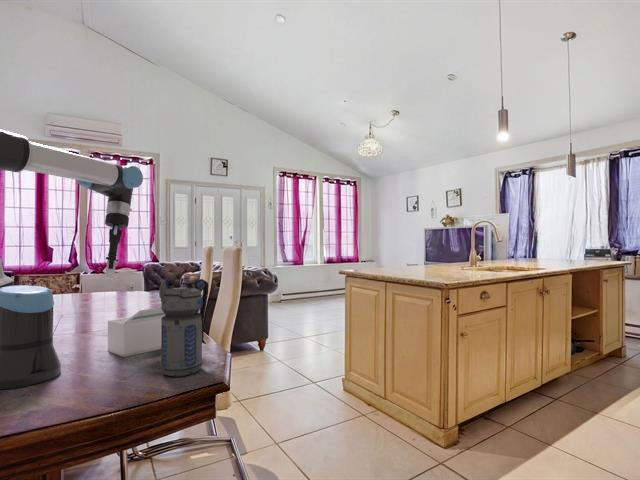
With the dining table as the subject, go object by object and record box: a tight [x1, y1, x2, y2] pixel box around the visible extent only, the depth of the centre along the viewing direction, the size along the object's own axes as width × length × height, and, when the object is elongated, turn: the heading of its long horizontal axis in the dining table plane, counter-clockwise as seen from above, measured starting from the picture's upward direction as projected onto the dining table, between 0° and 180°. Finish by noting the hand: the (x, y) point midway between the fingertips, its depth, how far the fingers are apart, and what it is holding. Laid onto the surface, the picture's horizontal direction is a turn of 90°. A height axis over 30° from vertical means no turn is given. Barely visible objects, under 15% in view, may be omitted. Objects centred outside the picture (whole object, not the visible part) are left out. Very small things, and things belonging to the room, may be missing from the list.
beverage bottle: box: [158, 278, 209, 377], centre depth 97 cm, size 10×13×25 cm
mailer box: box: [107, 316, 161, 358], centre depth 120 cm, size 12×16×10 cm
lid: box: [125, 307, 165, 324], centre depth 112 cm, size 11×17×1 cm
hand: (109, 278), depth 126 cm, fingers closed
